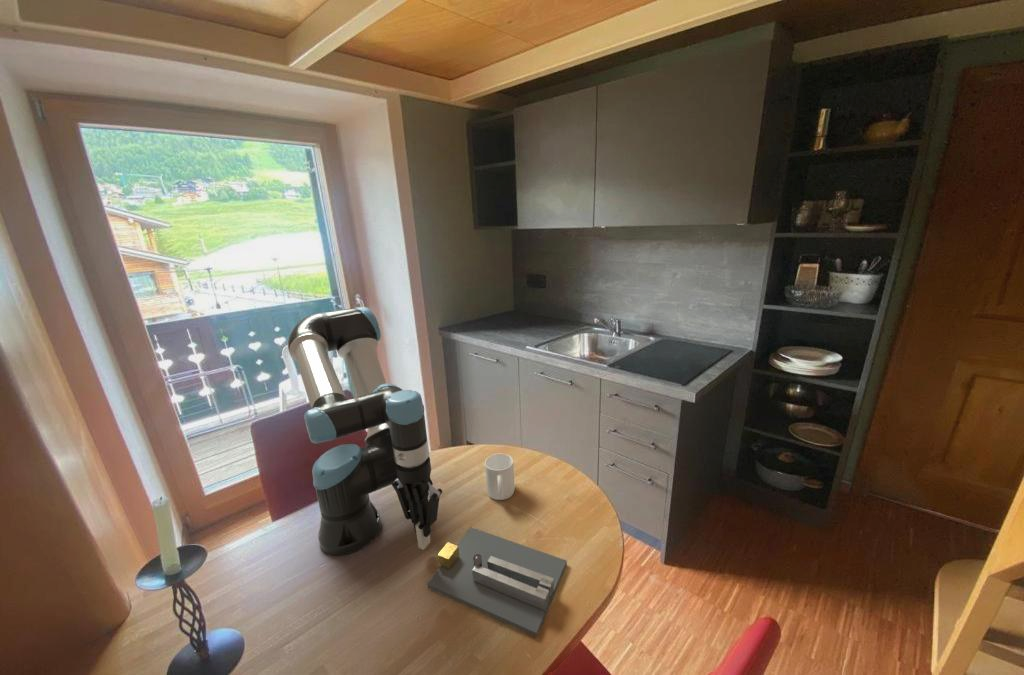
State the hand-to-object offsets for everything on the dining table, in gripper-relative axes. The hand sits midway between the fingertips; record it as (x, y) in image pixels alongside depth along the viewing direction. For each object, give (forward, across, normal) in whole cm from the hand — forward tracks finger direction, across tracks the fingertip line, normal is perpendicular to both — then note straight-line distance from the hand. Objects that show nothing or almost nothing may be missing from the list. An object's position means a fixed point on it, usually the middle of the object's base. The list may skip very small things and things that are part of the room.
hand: (424, 544), depth 93 cm
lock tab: (+2, +7, 0) cm, 7 cm away
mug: (+4, +7, +26) cm, 27 cm away
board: (+4, +19, +2) cm, 19 cm away
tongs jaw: (+2, +24, +2) cm, 24 cm away
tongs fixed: (+2, +23, -1) cm, 23 cm away
